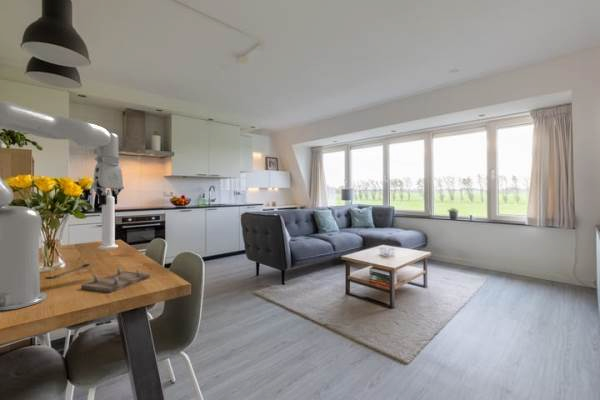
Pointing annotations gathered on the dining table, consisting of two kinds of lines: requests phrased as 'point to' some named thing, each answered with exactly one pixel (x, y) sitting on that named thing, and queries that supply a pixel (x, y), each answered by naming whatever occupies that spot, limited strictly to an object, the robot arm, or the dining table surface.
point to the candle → (108, 223)
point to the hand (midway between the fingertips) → (108, 203)
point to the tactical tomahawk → (66, 272)
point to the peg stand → (115, 281)
